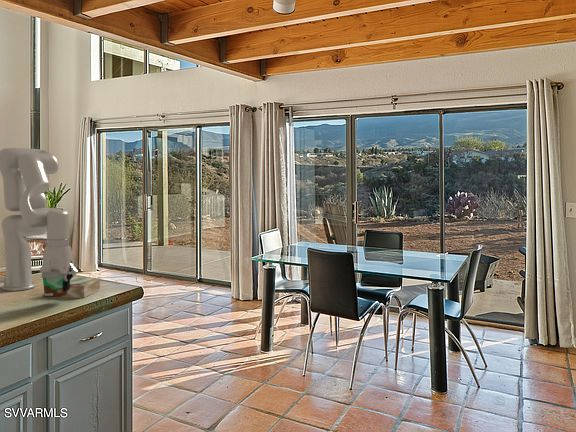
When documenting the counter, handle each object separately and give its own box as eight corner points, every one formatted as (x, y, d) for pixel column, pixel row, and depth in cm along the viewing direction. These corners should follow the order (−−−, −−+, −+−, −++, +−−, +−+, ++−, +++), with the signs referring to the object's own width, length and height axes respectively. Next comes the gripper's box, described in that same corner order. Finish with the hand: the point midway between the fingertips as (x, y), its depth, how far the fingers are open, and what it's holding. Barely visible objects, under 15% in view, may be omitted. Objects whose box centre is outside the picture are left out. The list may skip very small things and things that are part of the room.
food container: (56, 299, 170) (56, 273, 169) (41, 298, 171) (41, 271, 170) (77, 291, 182) (77, 266, 181) (63, 290, 183) (63, 265, 182)
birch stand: (46, 296, 187) (46, 283, 186) (64, 289, 199) (64, 276, 199) (84, 298, 185) (83, 284, 185) (99, 290, 197) (99, 278, 197)
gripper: (30, 243, 171) (31, 291, 173) (74, 246, 170) (74, 294, 171) (43, 240, 179) (44, 286, 181) (85, 242, 177) (85, 289, 179)
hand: (58, 289), depth 176 cm, fingers closed on food container, 5 cm apart
